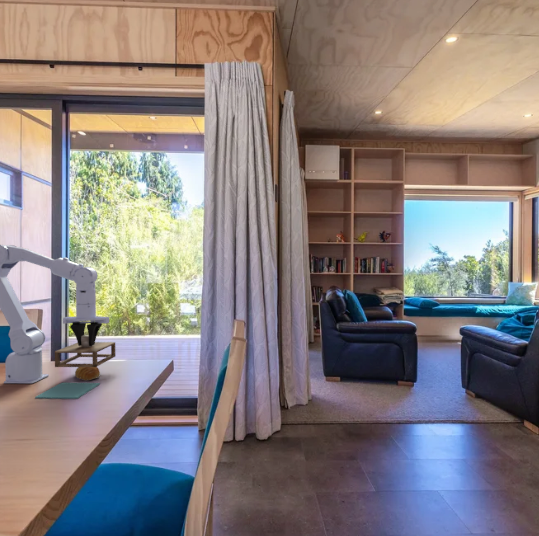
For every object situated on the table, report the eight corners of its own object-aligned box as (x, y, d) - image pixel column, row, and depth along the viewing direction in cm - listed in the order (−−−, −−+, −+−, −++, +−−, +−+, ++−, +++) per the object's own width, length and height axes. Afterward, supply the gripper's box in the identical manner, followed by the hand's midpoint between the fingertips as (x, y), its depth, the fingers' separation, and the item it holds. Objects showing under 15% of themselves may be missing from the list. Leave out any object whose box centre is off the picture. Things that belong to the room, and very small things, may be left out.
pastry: (105, 378, 118) (105, 366, 118) (83, 383, 113) (83, 371, 113) (93, 372, 124) (93, 361, 124) (72, 377, 120) (72, 365, 119)
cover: (54, 367, 113) (54, 340, 112) (78, 356, 125) (78, 332, 125) (95, 367, 112) (95, 340, 112) (115, 356, 125) (115, 332, 125)
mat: (35, 398, 100) (35, 396, 100) (61, 383, 112) (61, 382, 112) (77, 398, 99) (77, 397, 99) (99, 384, 111) (99, 382, 111)
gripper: (56, 305, 115) (57, 348, 115) (101, 305, 114) (102, 348, 114) (69, 302, 122) (70, 343, 122) (112, 302, 121) (112, 343, 121)
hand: (86, 345), depth 119 cm, fingers closed on cover, 3 cm apart
